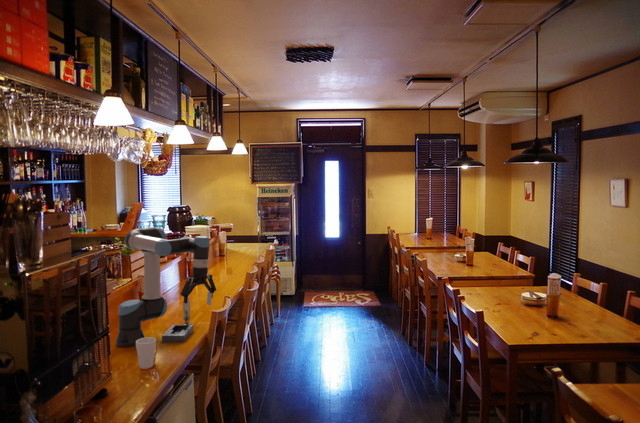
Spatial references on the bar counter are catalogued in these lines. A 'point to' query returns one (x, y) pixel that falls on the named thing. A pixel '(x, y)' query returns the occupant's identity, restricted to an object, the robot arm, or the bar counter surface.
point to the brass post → (186, 315)
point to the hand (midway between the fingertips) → (198, 306)
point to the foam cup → (146, 351)
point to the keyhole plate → (177, 333)
